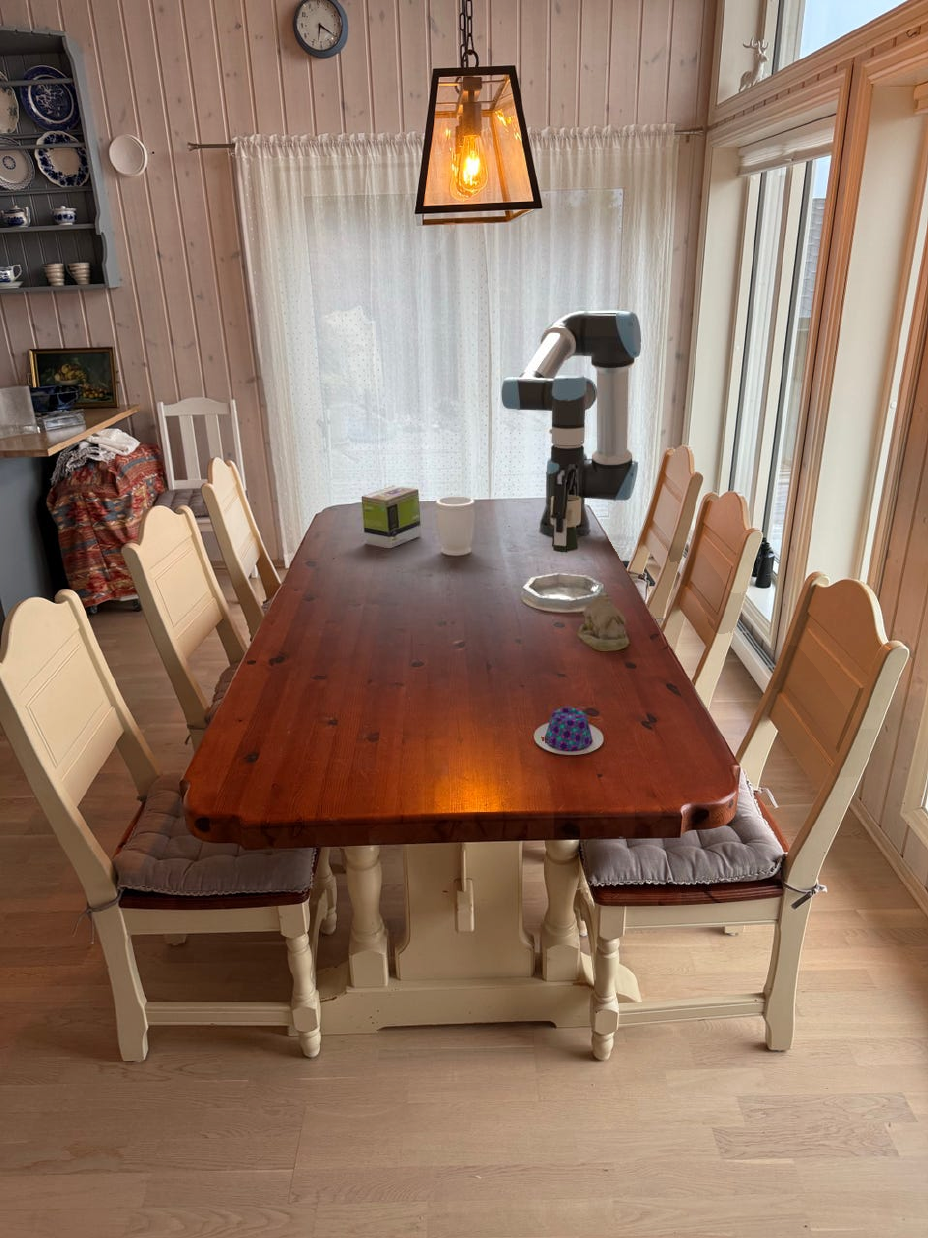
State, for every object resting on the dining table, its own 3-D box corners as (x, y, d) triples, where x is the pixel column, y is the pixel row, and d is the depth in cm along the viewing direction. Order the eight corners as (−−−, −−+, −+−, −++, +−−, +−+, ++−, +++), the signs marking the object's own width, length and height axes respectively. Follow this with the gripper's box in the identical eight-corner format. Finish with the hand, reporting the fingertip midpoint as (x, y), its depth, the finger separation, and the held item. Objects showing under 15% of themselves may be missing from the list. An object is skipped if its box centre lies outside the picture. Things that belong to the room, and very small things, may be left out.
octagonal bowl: (534, 579, 231) (534, 568, 230) (614, 587, 224) (614, 576, 223) (509, 607, 213) (509, 595, 211) (596, 617, 206) (596, 605, 205)
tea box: (396, 531, 273) (394, 484, 268) (422, 536, 268) (420, 488, 262) (363, 544, 262) (360, 494, 256) (389, 549, 256) (387, 499, 251)
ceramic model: (570, 628, 200) (571, 587, 196) (617, 624, 202) (619, 582, 198) (591, 654, 187) (593, 609, 184) (641, 648, 189) (644, 605, 186)
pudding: (617, 741, 154) (619, 715, 152) (570, 766, 147) (571, 738, 145) (566, 717, 162) (567, 691, 160) (519, 739, 155) (519, 713, 153)
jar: (476, 546, 257) (475, 496, 252) (473, 557, 248) (472, 505, 242) (439, 546, 258) (438, 495, 253) (435, 557, 249) (433, 505, 243)
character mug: (543, 545, 218) (544, 493, 213) (571, 543, 219) (573, 491, 214) (557, 558, 208) (558, 504, 203) (586, 556, 209) (588, 502, 204)
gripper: (563, 435, 215) (560, 526, 223) (539, 453, 196) (537, 550, 205) (593, 437, 212) (590, 528, 221) (572, 454, 194) (569, 553, 202)
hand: (564, 539), depth 213 cm, fingers closed on character mug, 9 cm apart
